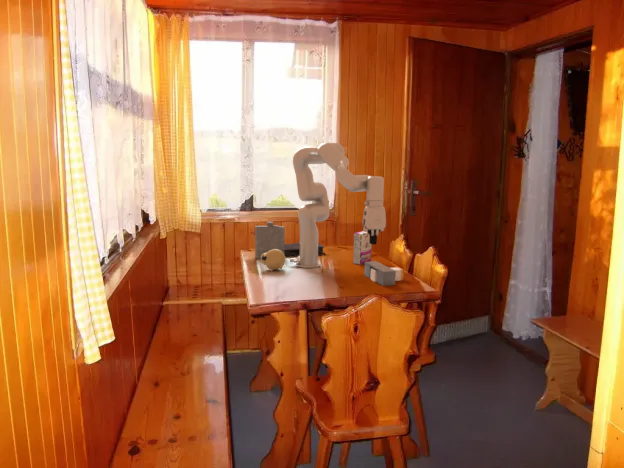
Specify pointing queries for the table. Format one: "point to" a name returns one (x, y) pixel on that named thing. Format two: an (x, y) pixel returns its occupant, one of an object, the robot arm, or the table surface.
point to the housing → (381, 273)
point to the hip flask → (269, 238)
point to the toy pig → (273, 259)
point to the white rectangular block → (398, 271)
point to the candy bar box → (362, 248)
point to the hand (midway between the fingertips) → (373, 243)
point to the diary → (298, 249)
